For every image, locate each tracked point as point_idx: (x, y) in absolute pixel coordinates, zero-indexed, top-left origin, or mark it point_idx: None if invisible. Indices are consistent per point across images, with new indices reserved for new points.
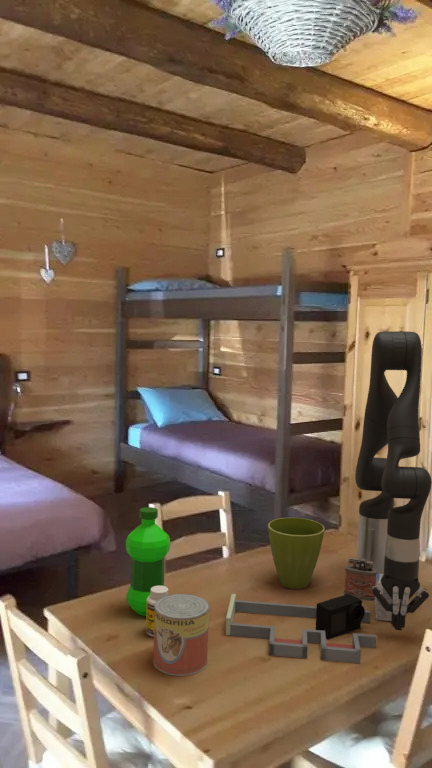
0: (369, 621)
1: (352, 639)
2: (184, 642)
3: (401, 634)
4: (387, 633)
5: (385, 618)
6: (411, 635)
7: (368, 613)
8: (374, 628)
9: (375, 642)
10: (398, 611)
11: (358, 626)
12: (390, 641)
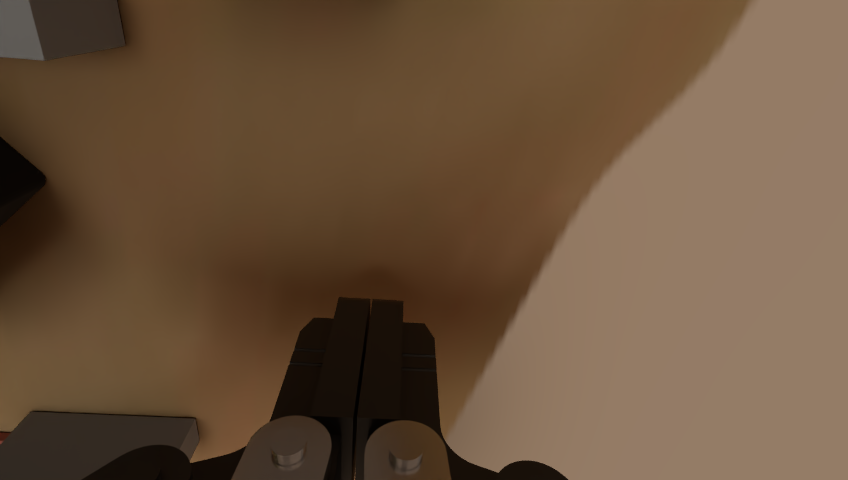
0: (113, 44)
1: (4, 450)
2: None
3: (420, 249)
4: (300, 244)
5: None
6: (503, 256)
7: (28, 55)
8: (183, 165)
9: None
10: (360, 427)
11: (9, 209)
12: None
